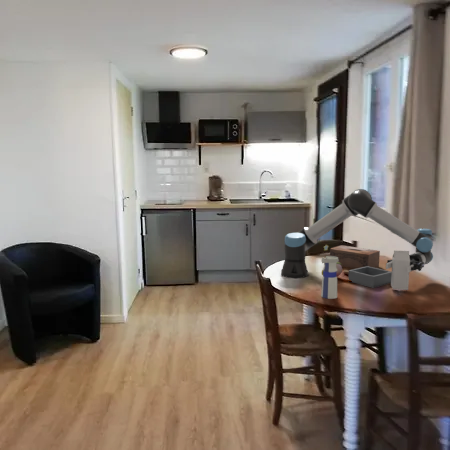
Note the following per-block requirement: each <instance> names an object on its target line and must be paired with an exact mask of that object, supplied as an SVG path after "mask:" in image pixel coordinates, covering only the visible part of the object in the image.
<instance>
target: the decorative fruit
mask: <svg viewBox="0 0 450 450" xmlns="http://www.w3.org/2000/svg"><path fill="white" fill-rule="evenodd" d="M340 264H341V263H339V262H337V263H336V268H337V271H336V277H337V278H338V277H339V276H340V275H341V274H342V273H343V266H341V265H340Z"/></svg>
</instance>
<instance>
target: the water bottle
mask: <svg viewBox="0 0 450 450" xmlns="http://www.w3.org/2000/svg"><path fill="white" fill-rule="evenodd" d="M329 247H330V246H329V245H328V244H325V246H323V248H324V249H323V251H328V248H329ZM338 261H339V259H338V257H335V256H330V255H326V256H325V257H321V264H323V267H322V269H321V275H322V278H321V291H320V296H321V298H323V299H329V300H333V299H337V298H338V277H336V271H337V268H336V263H337V262H338Z"/></svg>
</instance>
